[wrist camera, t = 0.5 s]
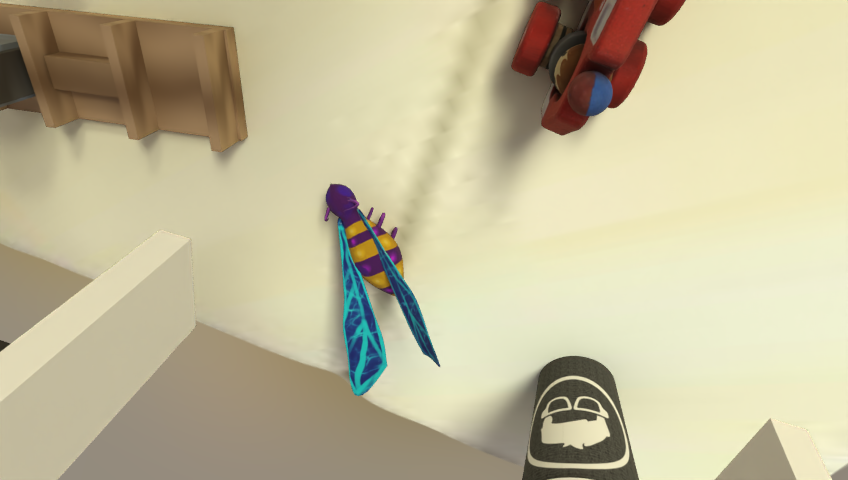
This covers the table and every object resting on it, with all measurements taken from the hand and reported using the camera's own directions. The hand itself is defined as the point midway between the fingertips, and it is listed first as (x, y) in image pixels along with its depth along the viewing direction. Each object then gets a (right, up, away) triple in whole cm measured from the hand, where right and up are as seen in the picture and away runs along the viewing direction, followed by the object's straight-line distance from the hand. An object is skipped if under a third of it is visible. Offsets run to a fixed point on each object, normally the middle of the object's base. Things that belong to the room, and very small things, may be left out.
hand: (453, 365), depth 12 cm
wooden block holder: (-25, +16, +28) cm, 41 cm away
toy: (-4, +3, +31) cm, 32 cm away
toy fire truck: (+10, +17, +19) cm, 27 cm away
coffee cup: (+13, -10, +34) cm, 38 cm away
